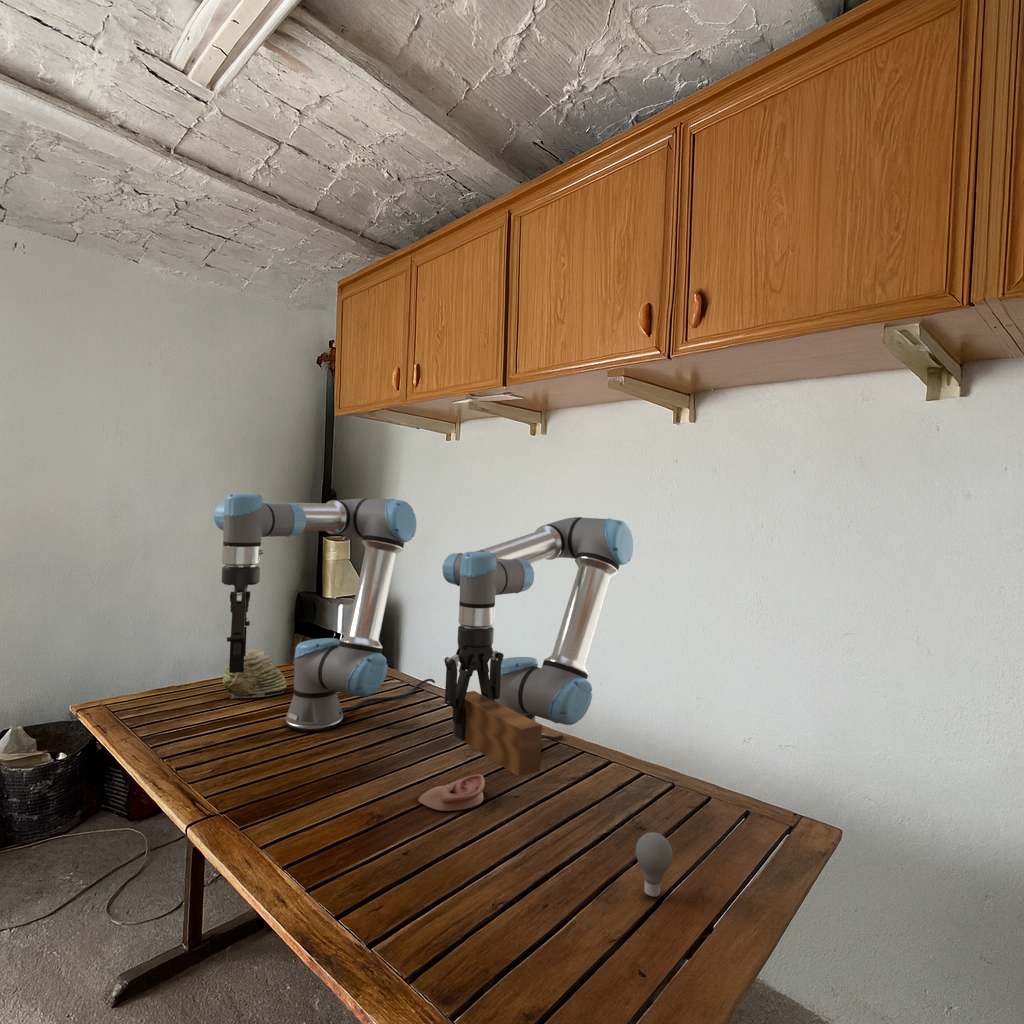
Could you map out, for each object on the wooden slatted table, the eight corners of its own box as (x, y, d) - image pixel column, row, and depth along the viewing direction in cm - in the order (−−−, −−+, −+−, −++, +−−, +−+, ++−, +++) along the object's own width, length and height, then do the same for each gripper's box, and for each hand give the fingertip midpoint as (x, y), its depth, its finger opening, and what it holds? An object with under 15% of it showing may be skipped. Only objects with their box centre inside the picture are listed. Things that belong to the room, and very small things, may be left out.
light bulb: (629, 883, 108) (632, 825, 107) (663, 883, 108) (666, 825, 108) (639, 906, 102) (642, 844, 101) (675, 905, 102) (678, 844, 102)
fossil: (218, 695, 195) (220, 647, 195) (278, 685, 208) (279, 640, 207) (228, 703, 189) (230, 653, 188) (289, 692, 201) (290, 645, 201)
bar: (540, 771, 118) (542, 724, 118) (519, 777, 116) (521, 729, 115) (472, 730, 138) (474, 690, 137) (452, 735, 135) (454, 693, 134)
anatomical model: (413, 788, 131) (431, 765, 142) (412, 807, 131) (431, 783, 142) (475, 796, 128) (489, 773, 139) (474, 816, 128) (488, 791, 139)
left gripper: (259, 572, 126) (255, 678, 126) (260, 559, 149) (257, 649, 149) (218, 572, 123) (214, 681, 123) (225, 559, 146) (222, 650, 147)
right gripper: (500, 619, 141) (496, 722, 142) (429, 625, 131) (424, 737, 131) (520, 625, 135) (516, 733, 136) (448, 632, 125) (443, 750, 125)
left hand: (237, 663), depth 136 cm, fingers open, 13 cm apart
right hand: (471, 735), depth 133 cm, fingers closed on bar, 5 cm apart
